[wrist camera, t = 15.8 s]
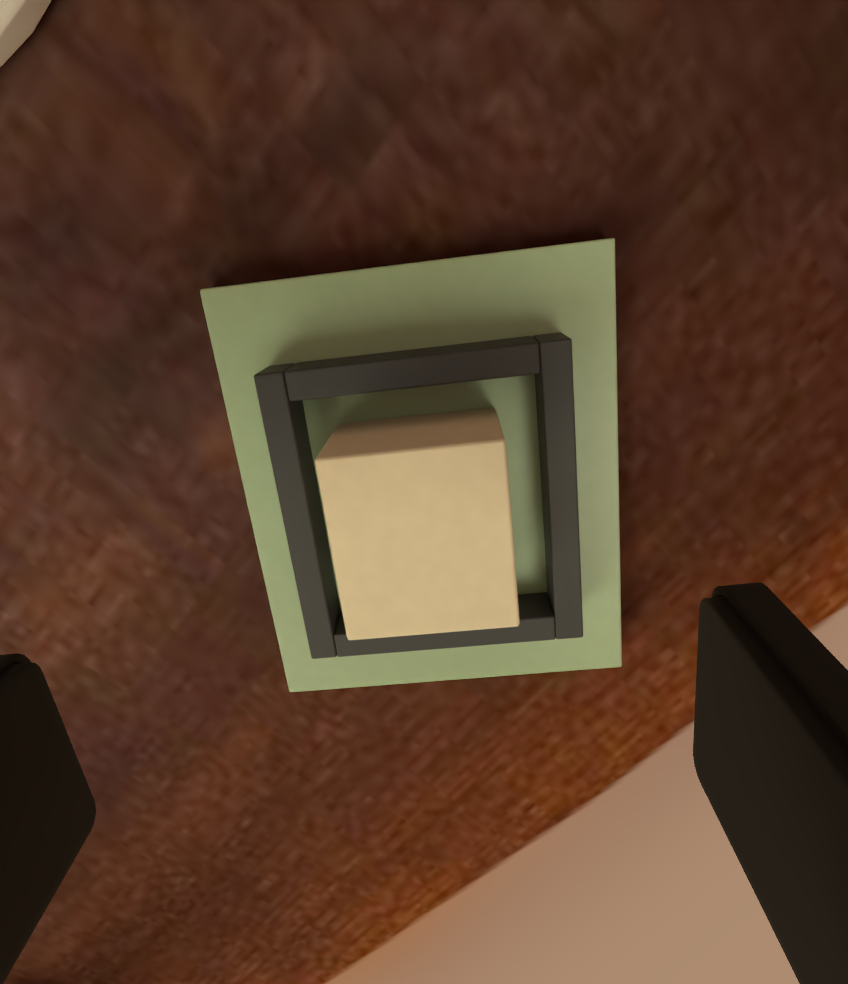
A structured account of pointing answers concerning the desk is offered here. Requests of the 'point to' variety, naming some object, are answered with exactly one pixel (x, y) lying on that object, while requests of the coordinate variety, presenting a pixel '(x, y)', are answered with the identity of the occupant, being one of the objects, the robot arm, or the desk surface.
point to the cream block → (420, 524)
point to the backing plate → (427, 390)
